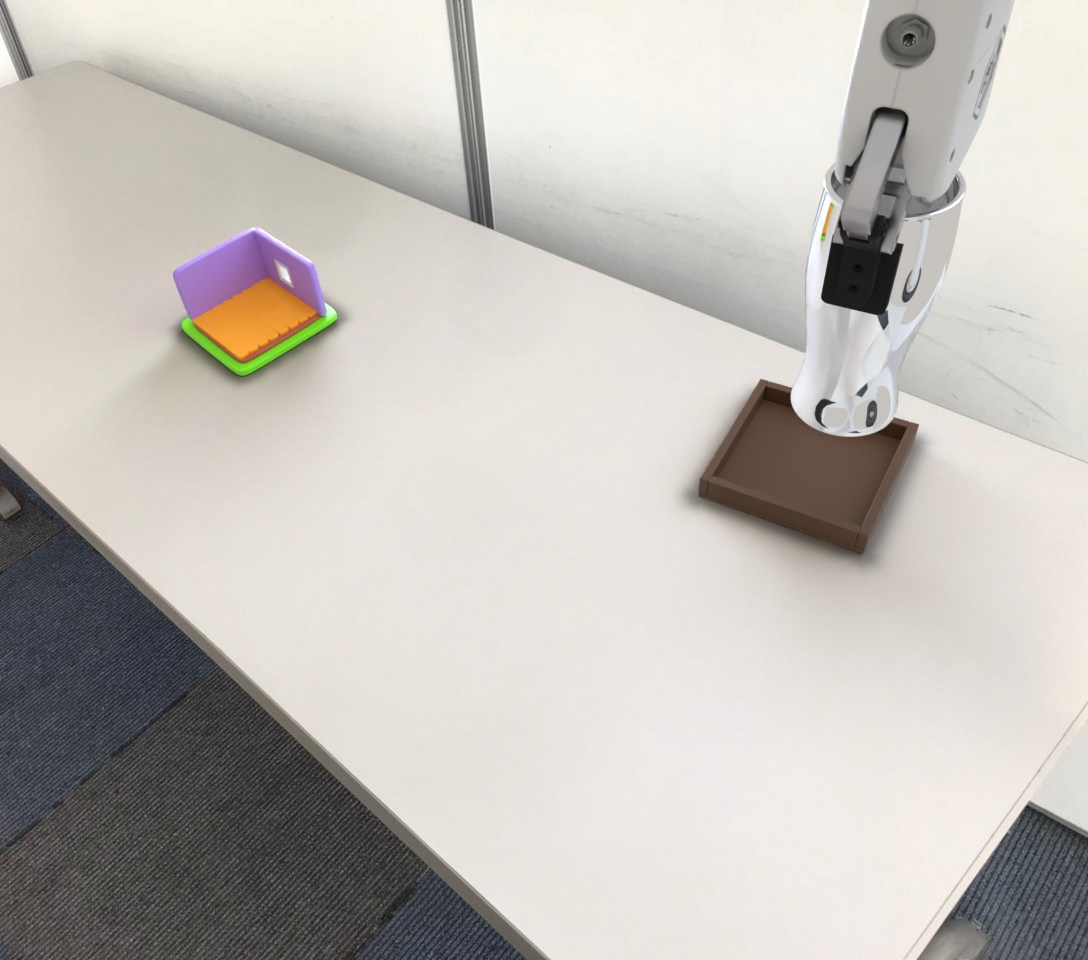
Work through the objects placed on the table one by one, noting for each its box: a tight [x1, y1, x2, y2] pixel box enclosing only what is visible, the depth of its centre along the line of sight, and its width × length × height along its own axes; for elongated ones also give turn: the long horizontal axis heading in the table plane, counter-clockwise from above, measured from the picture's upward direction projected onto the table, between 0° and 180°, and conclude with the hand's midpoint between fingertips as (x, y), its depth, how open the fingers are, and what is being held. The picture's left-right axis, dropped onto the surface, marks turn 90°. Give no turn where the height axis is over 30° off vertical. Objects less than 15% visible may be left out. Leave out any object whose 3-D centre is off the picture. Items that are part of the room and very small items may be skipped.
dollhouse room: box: [172, 227, 338, 377], centre depth 94 cm, size 12×12×7 cm
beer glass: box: [791, 162, 967, 437], centre depth 54 cm, size 7×7×15 cm
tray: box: [697, 378, 920, 555], centre depth 74 cm, size 12×12×2 cm
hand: (875, 262), depth 52 cm, fingers closed on beer glass, 7 cm apart
